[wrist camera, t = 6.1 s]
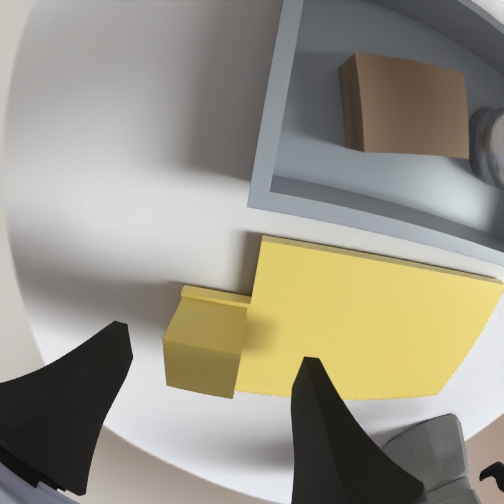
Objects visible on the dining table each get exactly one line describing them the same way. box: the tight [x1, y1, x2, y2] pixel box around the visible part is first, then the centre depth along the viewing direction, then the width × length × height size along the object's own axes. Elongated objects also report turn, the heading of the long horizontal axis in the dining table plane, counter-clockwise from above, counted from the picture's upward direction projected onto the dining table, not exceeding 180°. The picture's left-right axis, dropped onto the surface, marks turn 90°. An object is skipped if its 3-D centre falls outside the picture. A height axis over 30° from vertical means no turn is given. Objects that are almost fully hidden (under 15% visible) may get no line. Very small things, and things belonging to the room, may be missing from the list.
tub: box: [247, 0, 504, 266], centre depth 7 cm, size 14×9×4 cm, turn 81°
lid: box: [163, 235, 504, 400], centre depth 12 cm, size 17×9×4 cm, turn 82°
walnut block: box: [338, 53, 469, 159], centre depth 7 cm, size 4×3×2 cm
